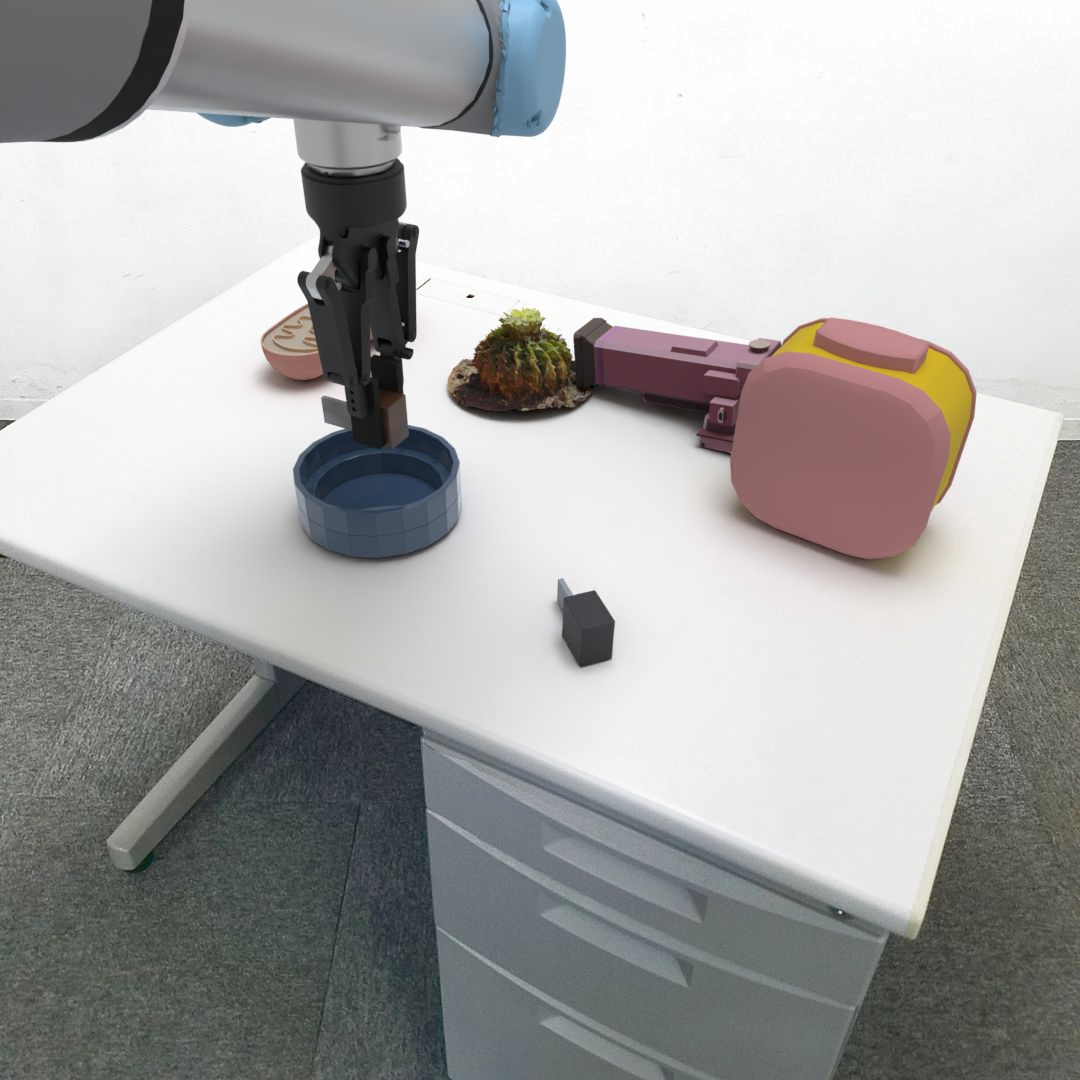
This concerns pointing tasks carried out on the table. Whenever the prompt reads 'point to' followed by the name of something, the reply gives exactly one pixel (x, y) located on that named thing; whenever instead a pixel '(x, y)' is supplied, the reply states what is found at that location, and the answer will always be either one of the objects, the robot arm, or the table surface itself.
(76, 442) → the table surface
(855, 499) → the alarm clock
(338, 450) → the bowl
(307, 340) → the anatomical model
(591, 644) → the cube with grey tab
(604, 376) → the electronic device
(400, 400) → the blade walnut
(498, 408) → the cactus
